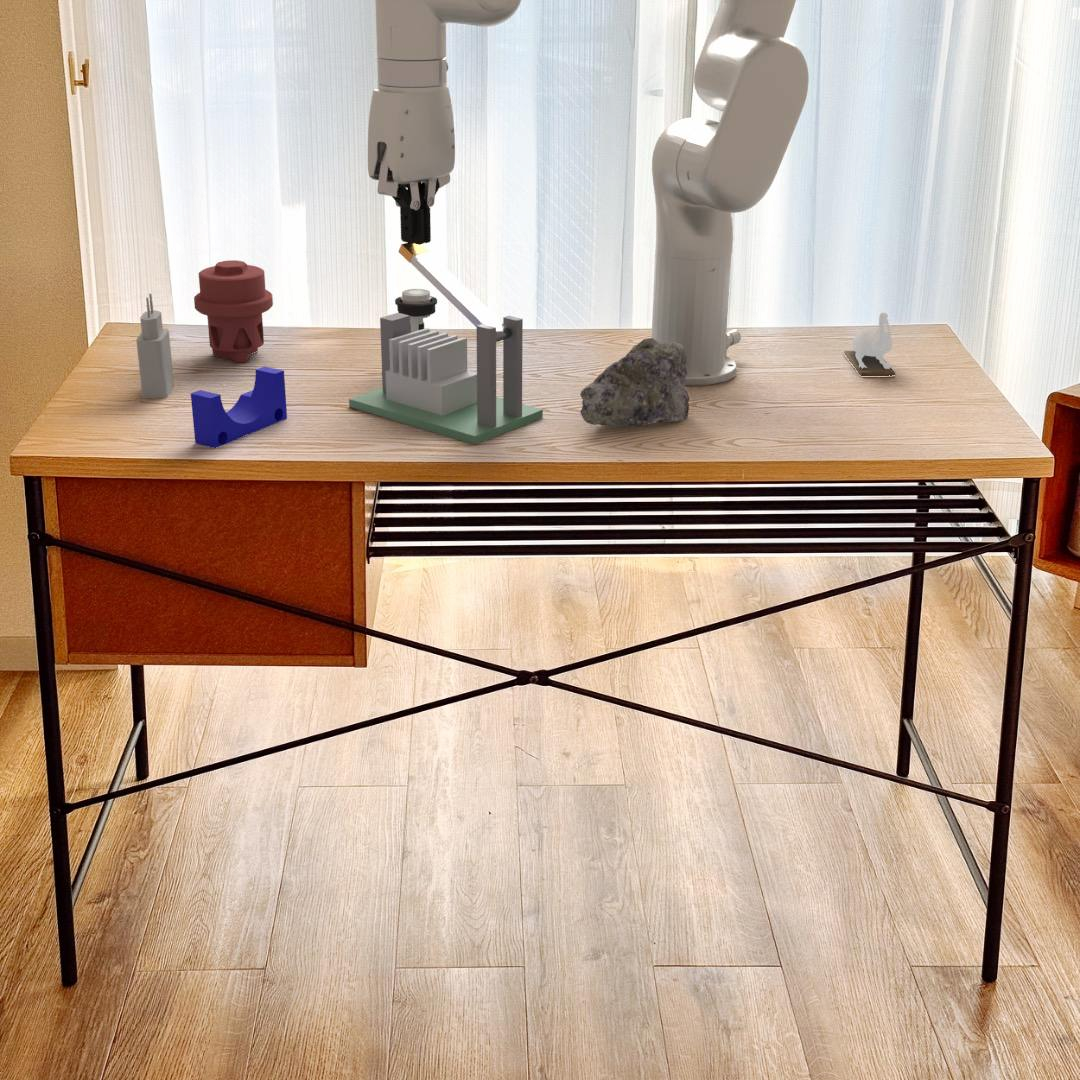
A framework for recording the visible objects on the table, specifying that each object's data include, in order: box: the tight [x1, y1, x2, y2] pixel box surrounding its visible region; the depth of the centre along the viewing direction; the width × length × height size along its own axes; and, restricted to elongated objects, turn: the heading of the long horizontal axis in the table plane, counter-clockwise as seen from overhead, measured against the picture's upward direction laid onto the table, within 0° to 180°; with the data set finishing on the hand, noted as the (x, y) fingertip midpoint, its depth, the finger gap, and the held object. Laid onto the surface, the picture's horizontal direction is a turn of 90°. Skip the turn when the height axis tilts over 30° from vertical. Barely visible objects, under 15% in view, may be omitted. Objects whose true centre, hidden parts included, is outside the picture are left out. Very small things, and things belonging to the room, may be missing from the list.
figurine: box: [843, 312, 896, 376], centre depth 188 cm, size 14×4×9 cm, turn 2°
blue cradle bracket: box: [190, 365, 288, 449], centre depth 166 cm, size 12×4×6 cm, turn 148°
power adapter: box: [135, 292, 175, 399], centre depth 177 cm, size 3×5×12 cm, turn 3°
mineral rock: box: [580, 337, 690, 428], centre depth 169 cm, size 13×11×10 cm
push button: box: [394, 288, 438, 333], centre depth 186 cm, size 7×5×10 cm
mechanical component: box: [193, 259, 274, 364], centre depth 191 cm, size 12×10×10 cm
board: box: [348, 312, 544, 445], centre depth 171 cm, size 12×20×12 cm, turn 51°
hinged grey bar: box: [397, 242, 512, 343], centre depth 166 cm, size 3×17×1 cm
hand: (415, 241), depth 168 cm, fingers closed
